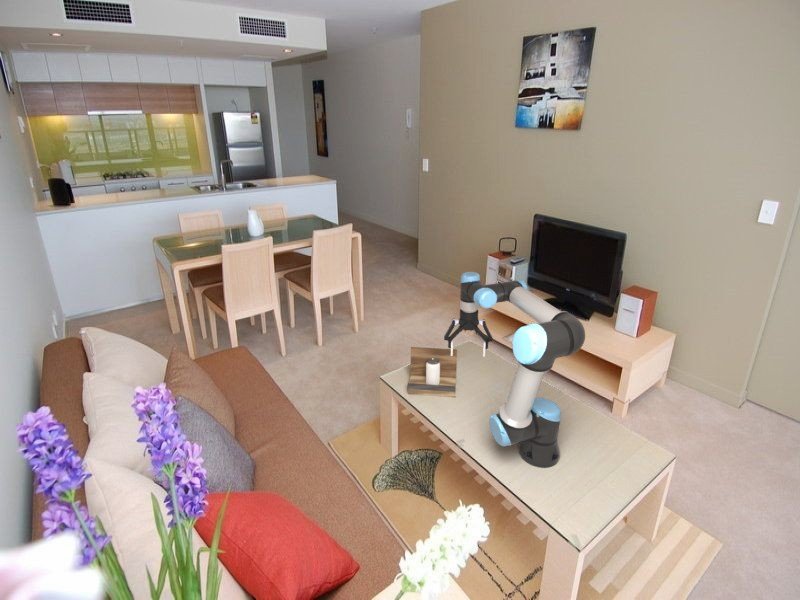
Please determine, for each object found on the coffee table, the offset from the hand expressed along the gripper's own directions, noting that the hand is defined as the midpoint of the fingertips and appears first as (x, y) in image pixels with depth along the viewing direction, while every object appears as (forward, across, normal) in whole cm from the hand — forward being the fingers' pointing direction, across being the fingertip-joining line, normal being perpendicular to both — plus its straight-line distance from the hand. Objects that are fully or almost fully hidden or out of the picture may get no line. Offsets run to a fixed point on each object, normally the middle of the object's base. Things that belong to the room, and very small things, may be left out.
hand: (467, 354), depth 198 cm
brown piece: (+26, +16, -14) cm, 33 cm away
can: (+23, +16, -13) cm, 30 cm away
